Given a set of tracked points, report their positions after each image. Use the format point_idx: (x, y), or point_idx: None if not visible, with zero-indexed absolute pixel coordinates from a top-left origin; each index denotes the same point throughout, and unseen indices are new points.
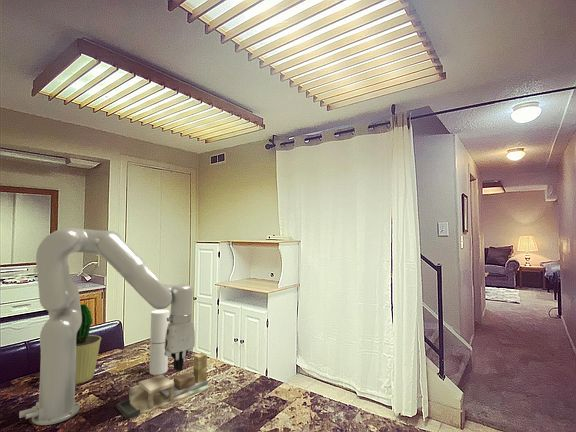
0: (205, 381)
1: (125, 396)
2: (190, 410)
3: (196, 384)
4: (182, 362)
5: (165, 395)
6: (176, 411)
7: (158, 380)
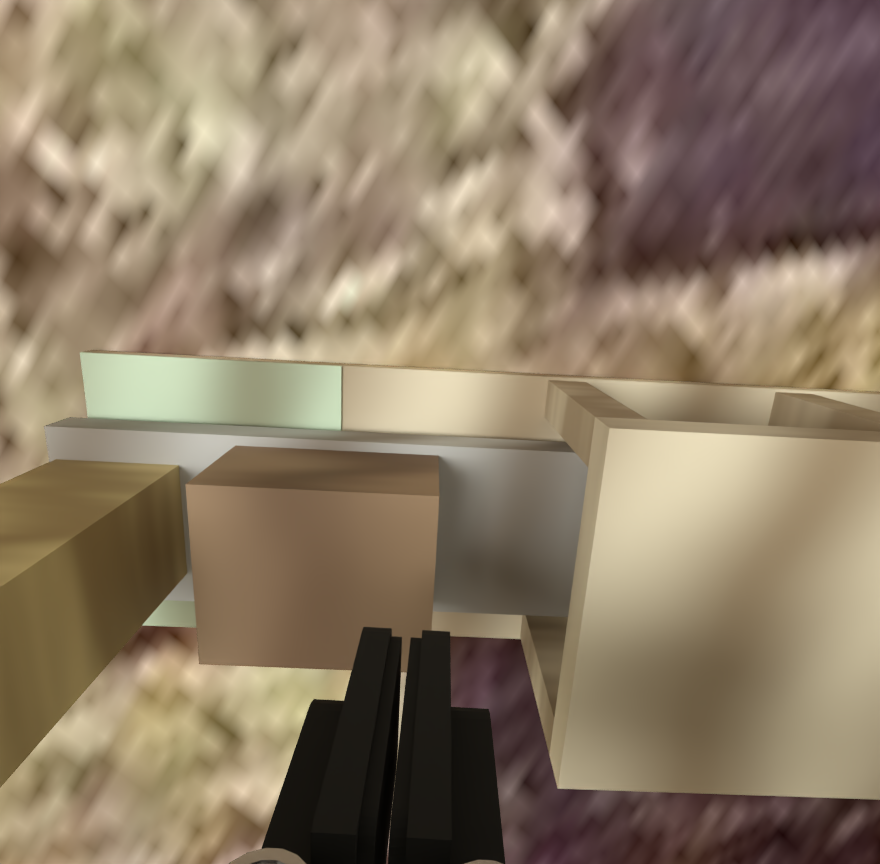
0: (81, 436)
1: None
2: (532, 53)
3: (210, 449)
4: (338, 743)
5: None
6: (643, 166)
7: (709, 662)
